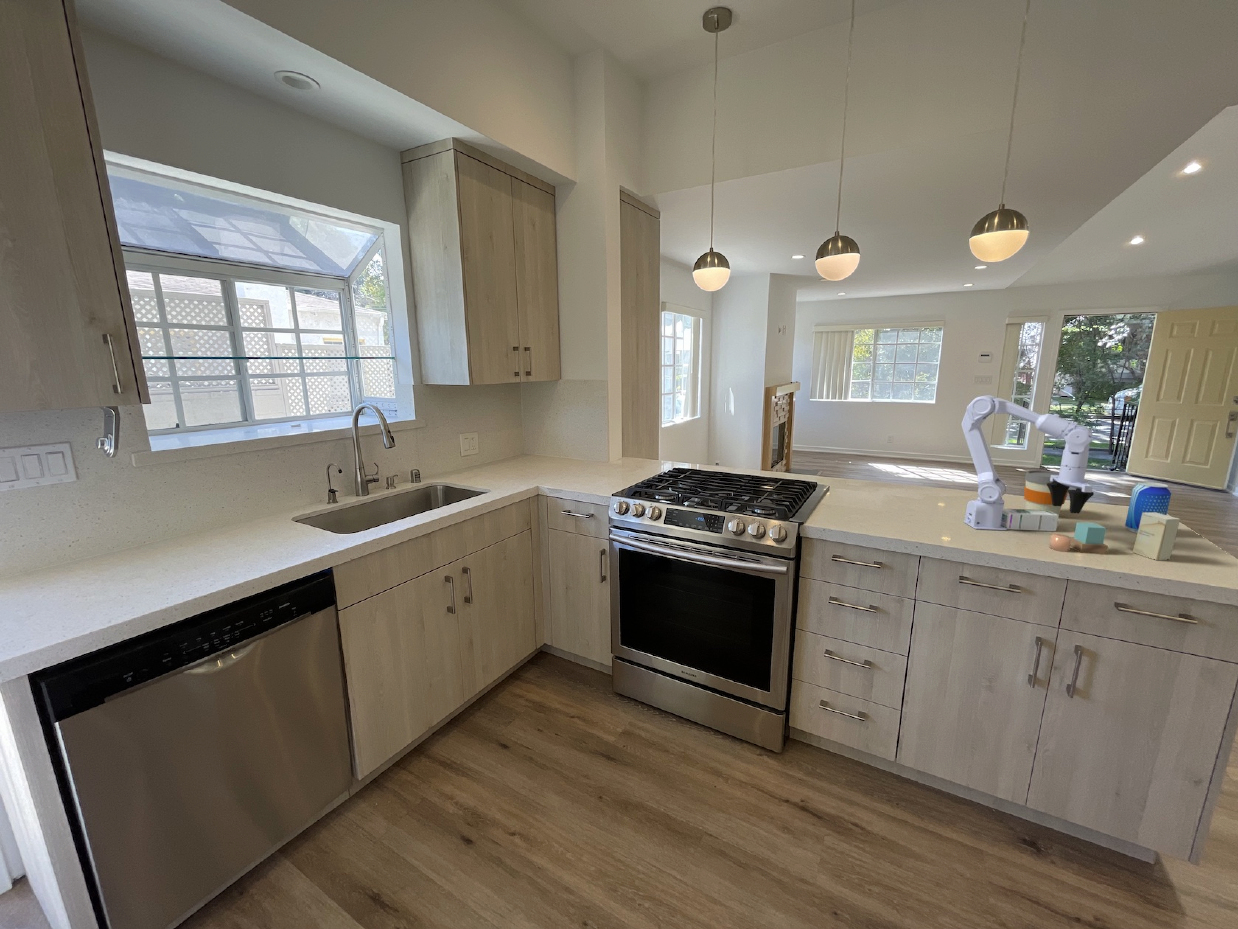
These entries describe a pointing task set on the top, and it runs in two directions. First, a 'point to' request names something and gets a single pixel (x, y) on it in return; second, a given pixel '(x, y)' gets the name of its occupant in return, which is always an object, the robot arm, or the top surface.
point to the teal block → (1089, 533)
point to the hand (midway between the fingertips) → (1065, 509)
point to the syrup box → (1029, 519)
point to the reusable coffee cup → (1040, 491)
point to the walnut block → (1088, 547)
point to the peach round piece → (1060, 542)
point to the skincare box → (1156, 535)
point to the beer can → (1146, 502)
